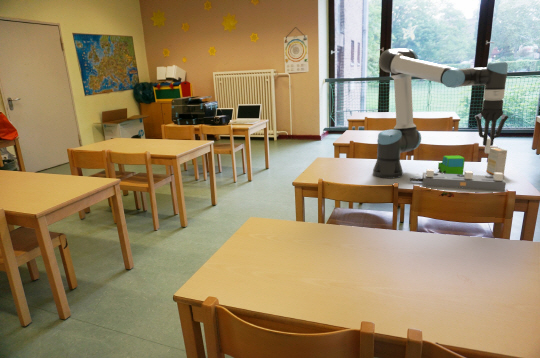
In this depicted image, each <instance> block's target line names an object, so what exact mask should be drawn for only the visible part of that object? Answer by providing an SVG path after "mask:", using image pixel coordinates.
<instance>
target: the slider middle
mask: <svg viewBox="0 0 540 358" xmlns="http://www.w3.org/2000/svg"><path fill="white" fill-rule="evenodd" d="M463 175H464V178H465V179H472V178H473V175H474V172H473V171H472V170H464V172H463Z"/></svg>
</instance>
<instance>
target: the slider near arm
mask: <svg viewBox="0 0 540 358" xmlns="http://www.w3.org/2000/svg"><path fill="white" fill-rule="evenodd" d="M425 173H426V177H433V175H434V173H435V169H432V168H430V169H429V168H427V169H426V172H425Z"/></svg>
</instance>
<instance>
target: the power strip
mask: <svg viewBox="0 0 540 358" xmlns="http://www.w3.org/2000/svg"><path fill="white" fill-rule="evenodd" d="M493 176H494V175H479V174H473V178H472V179H465V178H464V173H463V174H444V173H443V172H439V173H438V172H437V173H436V172H434V175H433V177H426V172H422V178H421V177H420V178H419V177H409V182H421V183H422V187H431V188H432V187H436V188H437V187H438V188H448V189H449V188H450V189H463V190H464V189H466V190H467V189H468V190H482V191H496V192H497V191H498V192H505V191H506V184H507V181H506V180H504V179H502V181H497V180H494V179H493Z"/></svg>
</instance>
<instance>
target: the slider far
mask: <svg viewBox="0 0 540 358" xmlns="http://www.w3.org/2000/svg"><path fill="white" fill-rule="evenodd" d="M492 176H493V179H494V180H497V181H502V179H503V177H504V175H503V174H502V173H500V172H494V175H492ZM503 180H504V179H503Z"/></svg>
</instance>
